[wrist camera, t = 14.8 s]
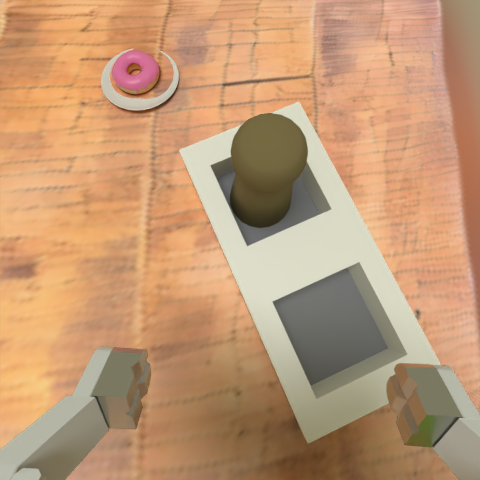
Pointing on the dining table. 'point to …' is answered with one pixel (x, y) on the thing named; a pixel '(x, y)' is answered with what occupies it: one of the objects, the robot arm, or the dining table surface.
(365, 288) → the socket rail
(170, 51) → the dining table surface
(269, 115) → the olive knobbed peg
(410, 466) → the dining table surface
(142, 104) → the donut
